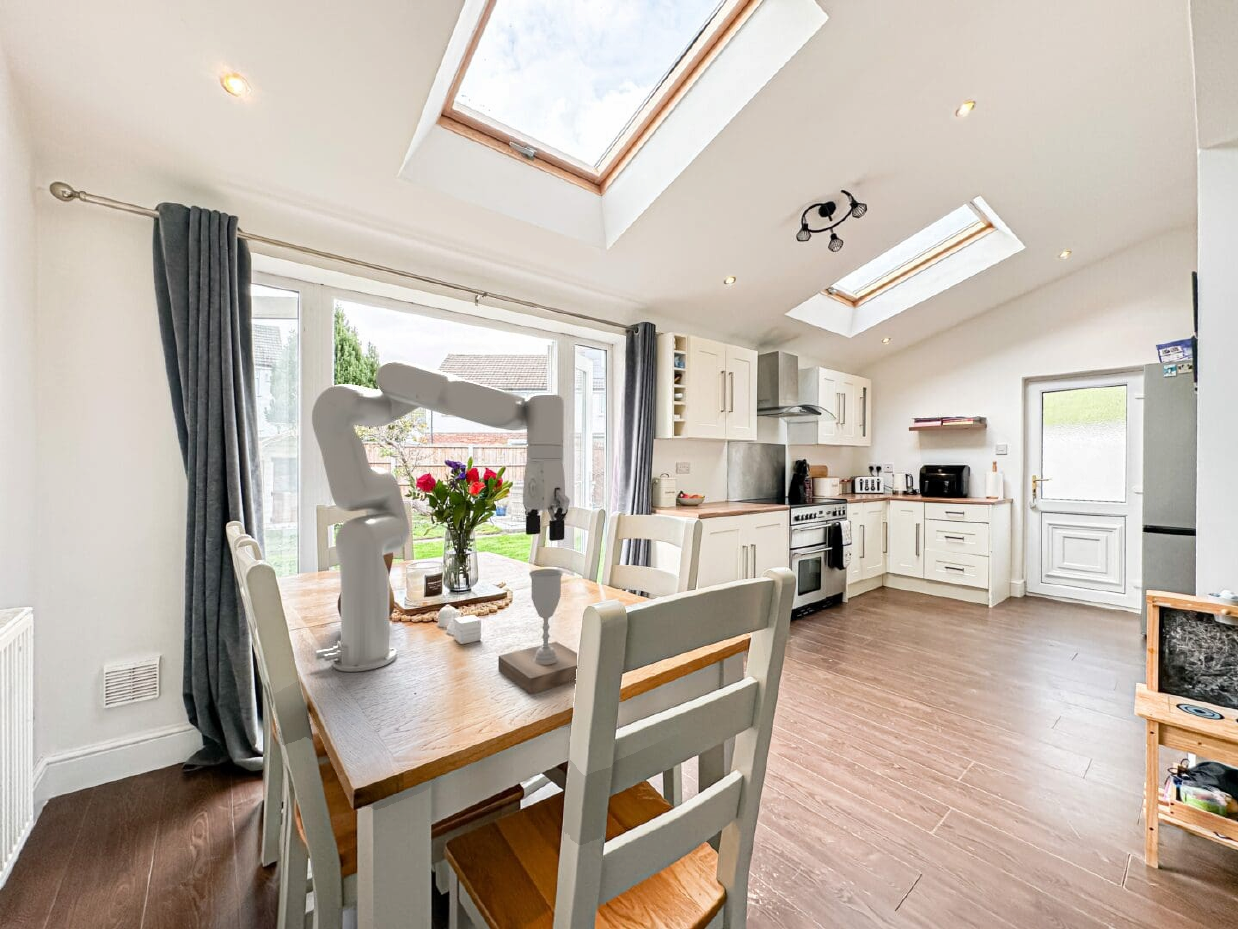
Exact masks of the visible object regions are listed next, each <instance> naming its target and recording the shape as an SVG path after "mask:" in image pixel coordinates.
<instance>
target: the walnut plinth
mask: <svg viewBox="0 0 1238 929" xmlns="http://www.w3.org/2000/svg"><path fill="white" fill-rule="evenodd" d="M548 645H550V646H549V647H552V648H553V649H554V650H555V653H556V656H557V658H558V660H557V661H556V662H555V663H552V664H546V665H542V664H537V663H535V662H533V659H534V658H535V655H536V653H537V650H538V649H539V648H540V647H542V646H543V644H541V645H537V646H533V647H528V648H525V649H520V650H516V651H512V652H509V653H504V654H500V655H498V658H497V659H498V660H497V661H498V664H497V665H498V671H499V672H500V673H501V674H502V675H505V677H507V678H508V679H509V680H511V681H513V682H514V683H515V684H516V685H517V686H519V687H520V688H522V689H523V690H524V691H525V692H526V693H527V694H529V695H533V694H536V693H540V692H543V691H547V690H550V689H553V688H556V687H557V686H562V685H565V684H568V683H571V682H575V681H576V680H575V679H576V669H577V652H576V651H574V650H572V649H571V648H569V647H567V646H565V645H563V644H561V643H559V642H558V641H553V642H548Z"/></svg>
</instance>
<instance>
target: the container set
mask: <svg viewBox="0 0 1238 929" xmlns="http://www.w3.org/2000/svg"><path fill="white" fill-rule="evenodd" d="M437 619H438V620H437V627H439V628H440V627H441V628H446V634H448V635H451V636H453V638H454V641H456V642H457V643H458V644H460V645H464V644H468V643H474V642H478V641H481V639H482V620H481V619H480V618H479V617H477V616H476V615H474V614H470V615H464V616H462V611H461V610H457V609H456V608H455V607H453V606H451V604H446V605H445V606H443V607H442V608H441V609H440V610H439V611H438V614H437Z"/></svg>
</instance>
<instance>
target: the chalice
mask: <svg viewBox="0 0 1238 929" xmlns="http://www.w3.org/2000/svg"><path fill="white" fill-rule="evenodd" d="M528 574H529V576H530V579H531V595H530V596H531V600H532V604H533V606H534V608H535V610H536V613H537V615H538V617H539V618H542V619H543V625H542V627H541V628H542V630H543V634H542V635H541V638H542V641H543V644H542V645H543V646H542V647H540V648H539V649H538V650H537V653H536V655H535V658H534V659H533V662H535V663H537V664H542V665H546V664H552V663H555V662H556V661H557V660H558V658H557V656H556V653H555V650H554V649H553V648H552V647H549V646H550V645H548V644H549V639H550V637H551V635H550V634H549V629H550V628H551V627H550V625H549V619H550V618H551V617H553V616H554V614H555V611H556V610H557V607H558V605H559V602H560V599H561V595H562V593H561V592H562V589H561V588H562V587H561V586H562V576H563V574H564V571H563V570H560V569H558V568H541V569H536V570H535V569H534V570H532V571H531V570H530V571H529V573H528Z"/></svg>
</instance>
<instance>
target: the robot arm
mask: <svg viewBox="0 0 1238 929" xmlns="http://www.w3.org/2000/svg"><path fill="white" fill-rule="evenodd" d="M375 381H376V386H377V388H378V389H372V388H368V387H364V386H359V385H355V384H336V385H333V386H330V387H328V388H326V389H325V390H323V392H321V393H320V395H319V396H318V397H317V399H316V400H315V402H314V405H313V409H312V412H311V424H312V427H313V428H312V429H313V432H314V434H315V438H316V440H317V443H318V447H319V449H320V452H321V457H322V460H323V466H324V470H325V474H326V478H327V482H328V486H329V489H330V493H331V498H332V500H333V502H334V504H335V506H336V507H337V508H338V509H339V510H341V511H345V512H358V511H364V512H365V515H362V516H357V517H354V518H351V519H350V520H348V521H346V522H345V523H343V524H342V525H341V526H340V527H339V529H338V531H337V533H336V536H335V549H336V554H337V559H338V564H339V566H338V567H339V572H340V573H339V574H340V575H339V576H340V577H339V578H340V592H341V617H340V640H338V641H336V645H332V648H324V649H323V648H322V649H318V650H315V656H314V657H315V661H320V660H323V661H324V662H328V661H332V667H333V668H334V669H335V670H338V671H341V672H346V673H347V672H364V671H370V670H374V669H377V668H382V667H384V666H387V665H389V664H391V663H393V662H394V660H396V658H397V656H398V650H397V649H396V648H394V647H393V646H390V617H389V581H390V575H389V574H388V569H387V566H386V564H385V561H384V558H383V555H386V554H389V553H392V552H393V553H395V552H397V551H399V550H401V549H402V548H403V547H404V546H405V545H406V543H407V542H408V540H409V537H410V523H409V520H408V517H407V510H406V508H405V503H404V500H403V499H404V498H403V496H402V492H401V488H400V485H399V483H398V481H397V479H396V477H395V476H394V474H392V473H391V472H390V471H389V470H387V469H385V468H382V467H376V466H375V467H373V466H371V465H370V463H369V459H368V456H367V451H366V447H365V444H364V442H363V440H362V439H361V437H360V436H359V434H358V433H357V431H356V430H355V426H361V427H362V426H364V427H372V428H380V427H384V426H387V425H389V424H392V423H394V422H396V421H397V420H399V419H401V418H402V417H404V416H406V415H409V414H410V413H411V412H414V411H415V410H417V409H419V408H423V409H426V410H429V411H432V412H436V413H440V414H442V415H445V416H453V417H456V418H459V419H463V420H466V421H470V422H474V423H475V424H476V423H477V424H480V425H483V426H488V427H490V428H493V429H502V430H506V431H507V430H508V431H522V430H526V462H525V467H524V474H523V476H524V477H523V487H522V488H523V489H522V490H523V491H522V504H523V507H524V515H525V534H526V535H527V536H530V535H531V536H532V535H540V534H541V515H540V511H548V515H549V517H550V519H551V520H549V524H548V526H549V532H548V533H549V534H548V537H549V538H548V539H549V541H550V542H554V541H555V542H556V541H564V540H565V521H566V519H567V515H568V511H569V505H570V503H571V501H570V498H569V496H567V495H566V485H565V484H566V483H565V482H566V480H565V470H564V420H565V419H564V417H565V416H564V415H565V414H564V410H565V409H564V408H565V406H564V404H565V403H564V399H563V397H561V396H560V395H558V394H554V393H534V394H530V395H529V396H528V397H527V396H522V395H518V394H515V393H512V392H509V391H506V390H503V389H498V388H495V387H493V386H492V387H491V386H488V385H484V384H480V383H476V382H473V381H469V380H466V379H462V378H461V377H458V375H457V376H456V375H455V374H451V373H446V372H445V371H444V372H443V371H440V370H436V369H432V368H428V367H425V366H422V365H419V364H416V363H415V364H414V363H410V362H407V361H402V360H391V361H387V362H385V363H383V364H382V365H381V366H380V367H379V368H378V370H377V372H376V376H375Z"/></svg>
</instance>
